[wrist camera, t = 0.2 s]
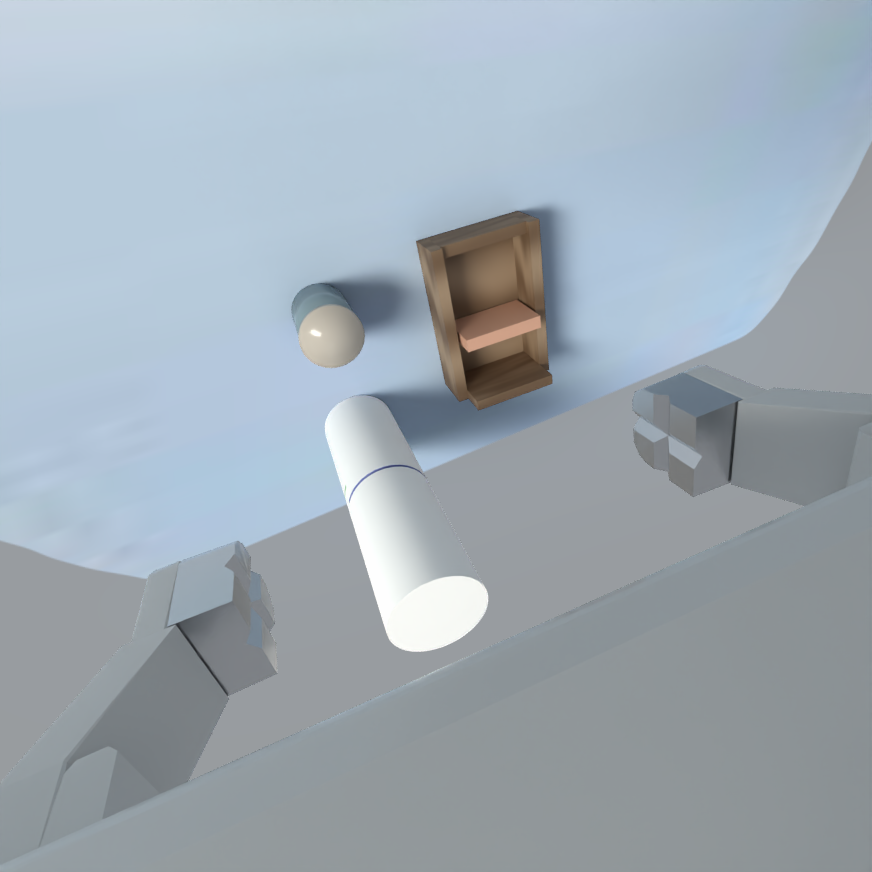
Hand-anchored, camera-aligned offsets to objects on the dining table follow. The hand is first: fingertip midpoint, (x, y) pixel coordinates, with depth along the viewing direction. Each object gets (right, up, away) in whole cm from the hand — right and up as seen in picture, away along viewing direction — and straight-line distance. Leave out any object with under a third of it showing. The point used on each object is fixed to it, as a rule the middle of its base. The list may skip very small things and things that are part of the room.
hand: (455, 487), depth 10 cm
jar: (-11, +12, +36) cm, 40 cm away
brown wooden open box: (+4, +14, +41) cm, 43 cm away
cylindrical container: (-8, +2, +44) cm, 45 cm away
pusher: (+4, +13, +41) cm, 43 cm away
